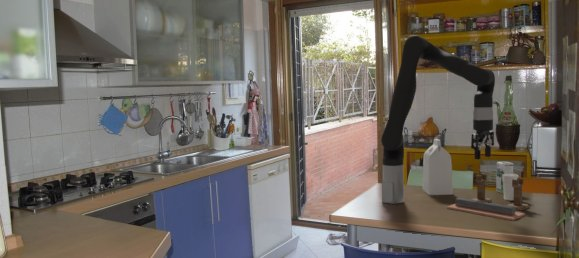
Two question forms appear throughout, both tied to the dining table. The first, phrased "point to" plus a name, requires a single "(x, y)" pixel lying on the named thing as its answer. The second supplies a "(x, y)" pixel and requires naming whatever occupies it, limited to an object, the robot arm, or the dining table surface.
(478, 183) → the stand left
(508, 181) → the cup
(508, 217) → the mat
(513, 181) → the stand right
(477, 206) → the rail
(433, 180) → the milk
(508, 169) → the syrup box
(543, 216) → the dining table surface
